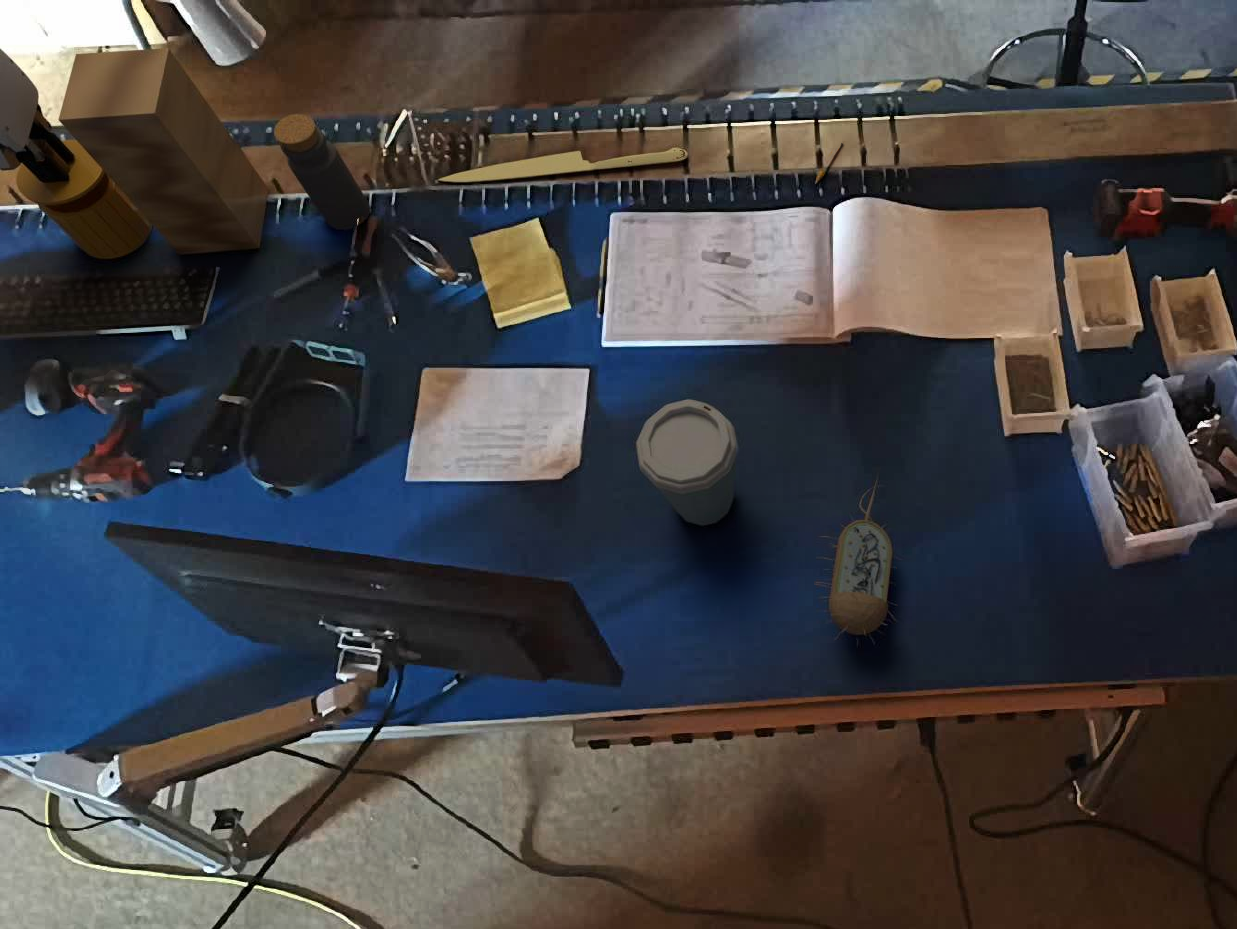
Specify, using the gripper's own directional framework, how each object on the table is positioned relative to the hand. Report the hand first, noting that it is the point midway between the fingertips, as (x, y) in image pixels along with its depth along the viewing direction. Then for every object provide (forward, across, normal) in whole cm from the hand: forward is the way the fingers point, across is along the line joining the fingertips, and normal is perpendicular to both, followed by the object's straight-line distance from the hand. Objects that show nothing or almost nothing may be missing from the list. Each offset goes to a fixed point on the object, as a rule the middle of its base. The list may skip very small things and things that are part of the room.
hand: (58, 168), depth 127 cm
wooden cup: (+11, 0, 0) cm, 11 cm away
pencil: (+12, -2, +93) cm, 93 cm away
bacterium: (+12, +58, +90) cm, 108 cm away
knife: (+12, -5, +57) cm, 58 cm away
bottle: (+12, 0, +29) cm, 31 cm away
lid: (+1, 0, 0) cm, 1 cm away
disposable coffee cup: (+12, +47, +73) cm, 88 cm away
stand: (+11, 0, +13) cm, 17 cm away
